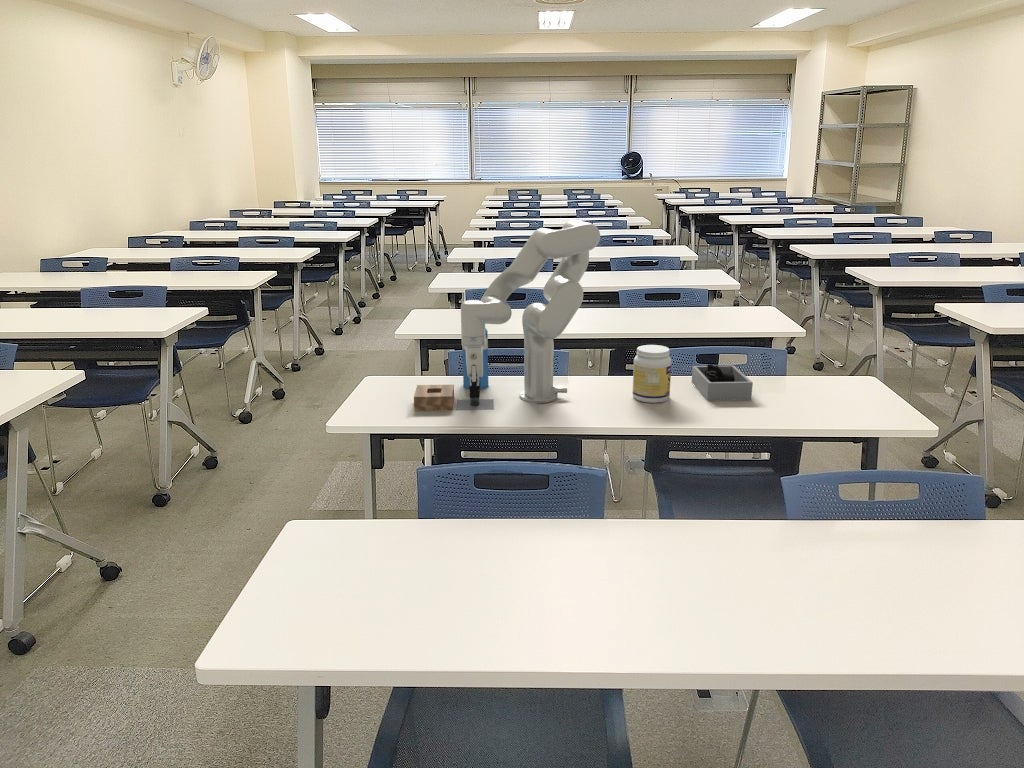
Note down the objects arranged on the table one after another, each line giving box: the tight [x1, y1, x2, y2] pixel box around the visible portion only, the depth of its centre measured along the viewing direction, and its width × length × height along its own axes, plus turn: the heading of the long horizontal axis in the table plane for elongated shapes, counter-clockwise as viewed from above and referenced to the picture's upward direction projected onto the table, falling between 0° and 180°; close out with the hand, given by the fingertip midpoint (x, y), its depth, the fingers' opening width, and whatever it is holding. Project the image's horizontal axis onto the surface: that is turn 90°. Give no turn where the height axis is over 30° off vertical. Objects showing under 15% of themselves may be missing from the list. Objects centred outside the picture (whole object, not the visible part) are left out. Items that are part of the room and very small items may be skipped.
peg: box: [469, 375, 481, 406], centre depth 237 cm, size 3×3×11 cm
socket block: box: [413, 384, 455, 412], centre depth 238 cm, size 12×12×5 cm
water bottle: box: [461, 327, 489, 390], centre depth 254 cm, size 9×9×25 cm
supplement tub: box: [632, 344, 672, 404], centre depth 242 cm, size 12×12×17 cm
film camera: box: [705, 363, 735, 382], centre depth 250 cm, size 15×10×9 cm, turn 169°
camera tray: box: [691, 365, 754, 402], centre depth 250 cm, size 14×20×6 cm
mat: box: [455, 398, 495, 411], centre depth 239 cm, size 12×10×1 cm
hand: (474, 395), depth 237 cm, fingers closed on peg, 3 cm apart
